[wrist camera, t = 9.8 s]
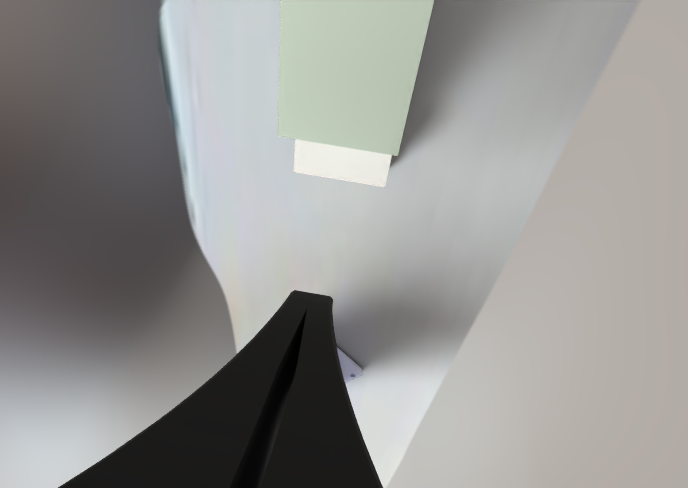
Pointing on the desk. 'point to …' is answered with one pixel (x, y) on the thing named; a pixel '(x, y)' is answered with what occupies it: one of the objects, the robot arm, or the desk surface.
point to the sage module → (349, 70)
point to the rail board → (341, 163)
